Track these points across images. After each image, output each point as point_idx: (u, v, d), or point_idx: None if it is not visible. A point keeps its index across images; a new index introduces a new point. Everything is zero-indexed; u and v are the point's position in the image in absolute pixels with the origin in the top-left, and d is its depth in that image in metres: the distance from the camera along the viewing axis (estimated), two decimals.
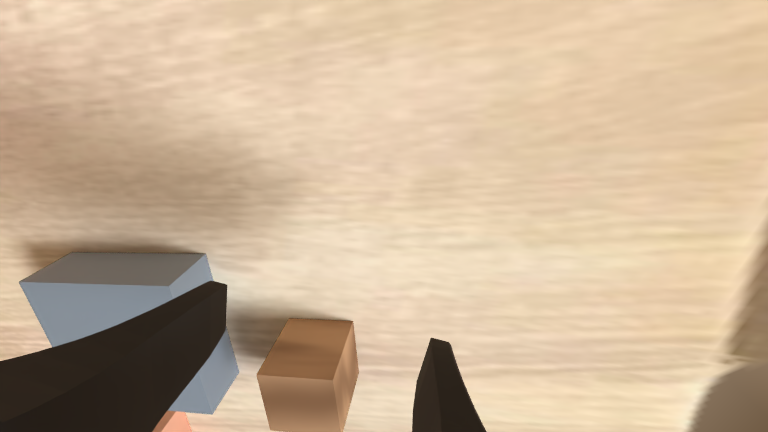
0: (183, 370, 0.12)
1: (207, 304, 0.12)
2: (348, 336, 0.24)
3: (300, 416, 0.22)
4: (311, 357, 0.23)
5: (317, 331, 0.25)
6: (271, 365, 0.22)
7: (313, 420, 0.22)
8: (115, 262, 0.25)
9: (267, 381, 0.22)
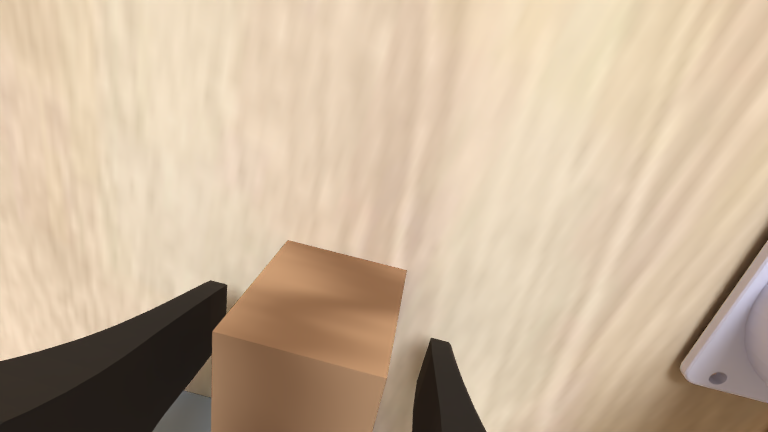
0: (183, 370, 0.12)
1: (207, 304, 0.12)
2: (277, 259, 0.13)
3: (317, 426, 0.10)
4: None
5: None
6: None
7: (332, 409, 0.10)
8: None
9: None
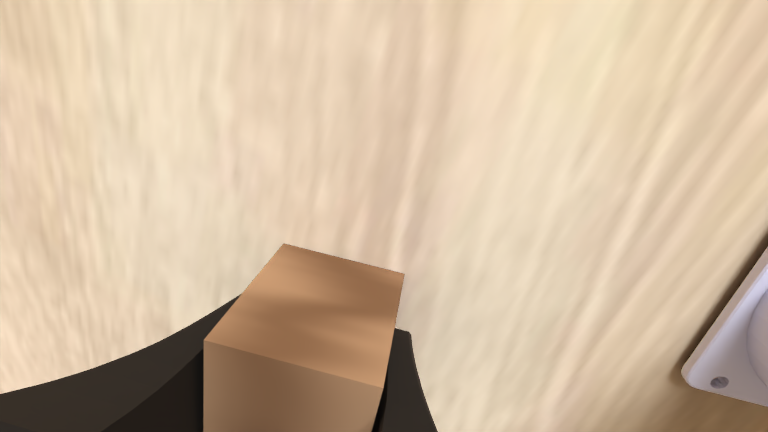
0: None
1: None
2: (272, 264, 0.13)
3: None
4: None
5: None
6: None
7: (327, 419, 0.10)
8: None
9: None
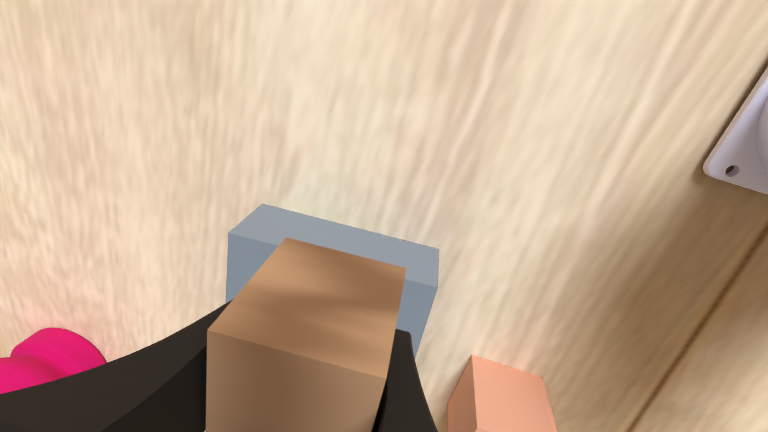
0: None
1: None
2: (274, 257, 0.13)
3: (314, 427, 0.10)
4: None
5: None
6: None
7: (329, 410, 0.10)
8: None
9: None
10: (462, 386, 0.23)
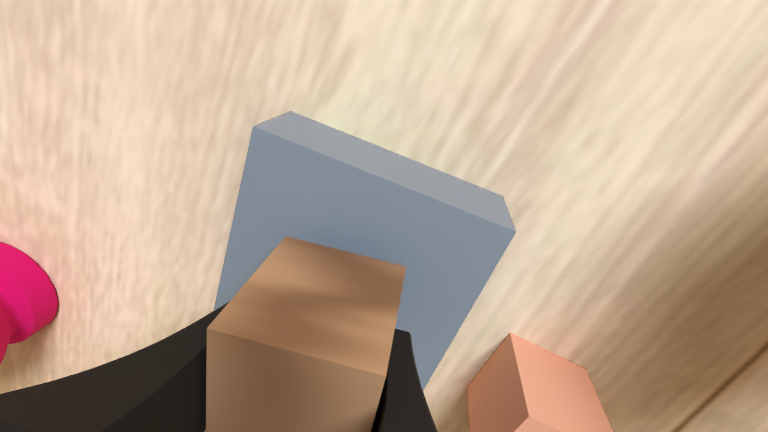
0: None
1: None
2: (274, 255, 0.13)
3: (314, 426, 0.10)
4: None
5: None
6: None
7: (329, 408, 0.10)
8: None
9: None
10: (493, 368, 0.20)
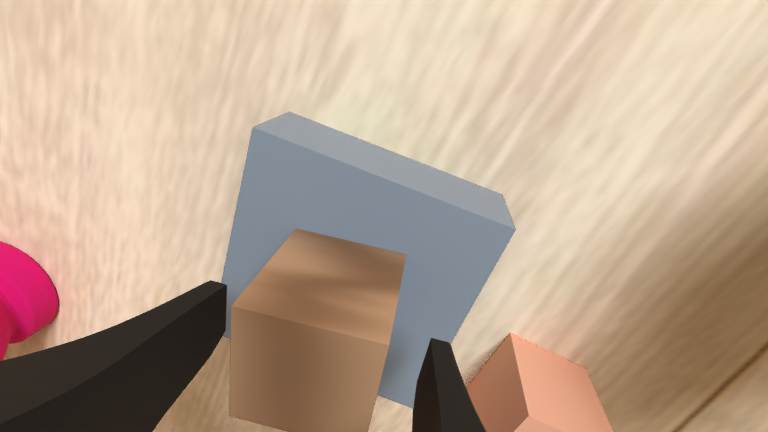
0: (183, 370, 0.12)
1: (207, 304, 0.12)
2: (286, 245, 0.14)
3: (326, 393, 0.11)
4: None
5: None
6: None
7: (339, 376, 0.11)
8: None
9: (242, 407, 0.12)
10: (493, 368, 0.20)
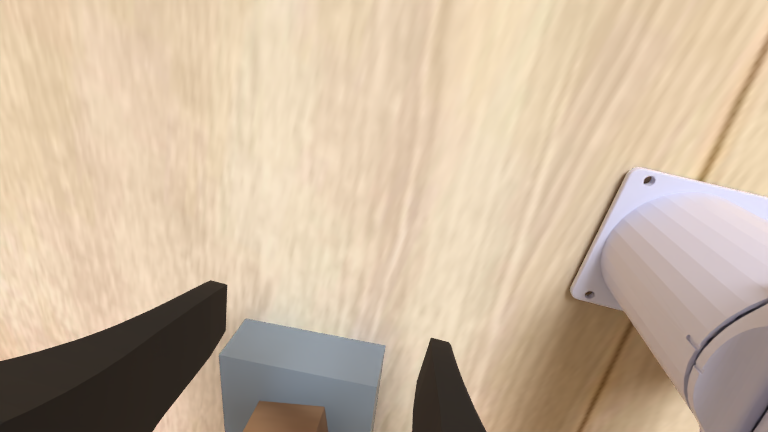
0: (183, 370, 0.12)
1: (207, 304, 0.12)
2: (251, 419, 0.24)
3: None
4: None
5: None
6: None
7: None
8: None
9: None
10: None
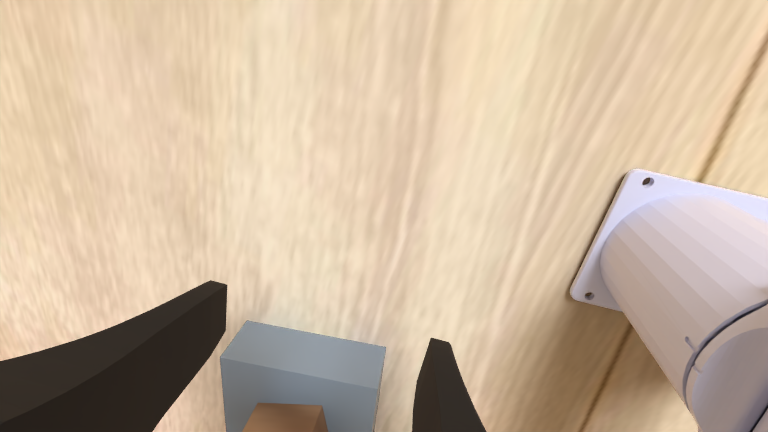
0: (183, 370, 0.12)
1: (207, 304, 0.12)
2: (250, 420, 0.24)
3: None
4: None
5: None
6: None
7: None
8: None
9: None
10: None
